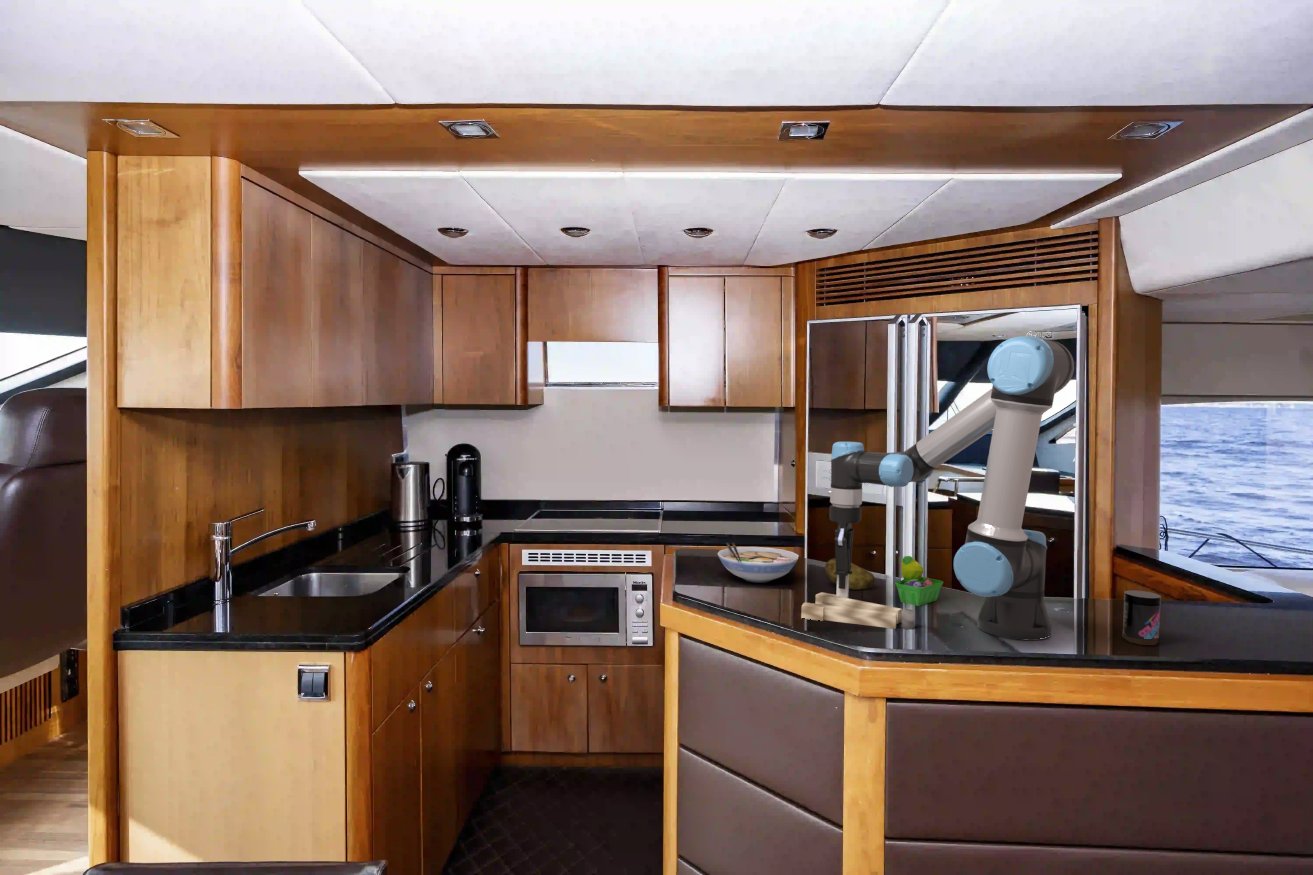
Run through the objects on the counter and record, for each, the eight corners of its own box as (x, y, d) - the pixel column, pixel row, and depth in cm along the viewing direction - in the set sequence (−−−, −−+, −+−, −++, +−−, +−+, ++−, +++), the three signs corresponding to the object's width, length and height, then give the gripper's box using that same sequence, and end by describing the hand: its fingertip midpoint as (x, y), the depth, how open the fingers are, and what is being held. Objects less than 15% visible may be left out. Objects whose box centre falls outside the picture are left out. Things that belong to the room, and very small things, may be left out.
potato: (870, 594, 207) (871, 564, 206) (821, 588, 212) (822, 559, 212) (876, 587, 214) (876, 558, 214) (829, 582, 220) (829, 553, 219)
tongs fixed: (915, 626, 178) (915, 609, 177) (913, 632, 173) (913, 615, 173) (805, 613, 187) (805, 597, 187) (801, 618, 183) (801, 602, 182)
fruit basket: (920, 608, 194) (922, 563, 193) (889, 600, 200) (890, 557, 200) (944, 601, 201) (945, 557, 201) (912, 594, 208) (914, 551, 207)
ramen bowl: (806, 591, 208) (806, 561, 208) (719, 590, 209) (720, 559, 208) (791, 571, 233) (791, 543, 233) (714, 569, 234) (714, 542, 233)
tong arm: (903, 620, 181) (903, 607, 181) (897, 623, 179) (898, 610, 178) (821, 604, 195) (821, 592, 194) (815, 606, 192) (815, 594, 192)
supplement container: (1132, 646, 166) (1134, 597, 165) (1115, 636, 173) (1118, 589, 172) (1165, 647, 166) (1167, 598, 165) (1147, 637, 172) (1150, 590, 172)
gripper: (834, 500, 198) (831, 592, 199) (824, 507, 186) (821, 605, 188) (865, 502, 195) (861, 596, 197) (857, 510, 183) (853, 609, 185)
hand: (842, 600), depth 192 cm, fingers closed
